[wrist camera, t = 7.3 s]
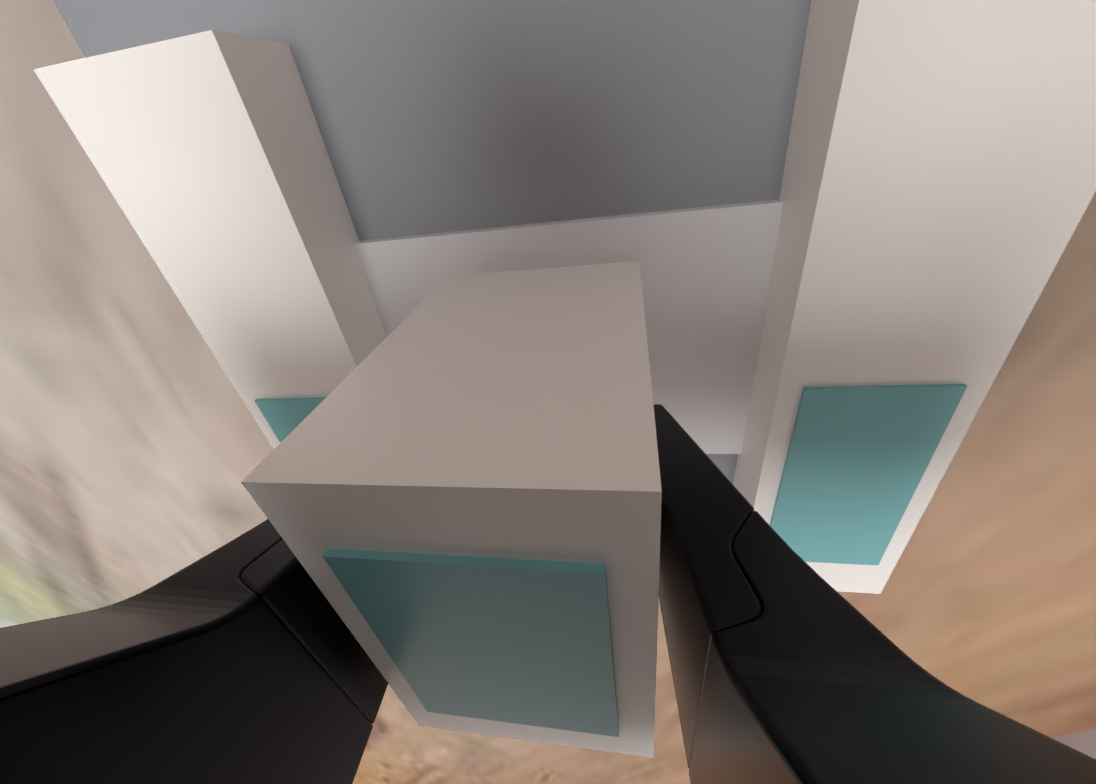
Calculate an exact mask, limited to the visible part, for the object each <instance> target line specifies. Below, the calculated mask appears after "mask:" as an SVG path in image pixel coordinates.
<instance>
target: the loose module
mask: <svg viewBox="0 0 1096 784" xmlns="http://www.w3.org/2000/svg"><path fill="white" fill-rule="evenodd" d="M242 484H243V485H244V486H245V488H246V489H247V490H248V492H249V493H250V495H251V496H252V497H253V499H254V500H255V501H256V503H257V504H258V506H259V507H260V508H261V510H262V511H263V512H264V514H265V515H266V516H267V518H268V519H269V521H270V522H271V523H272V525H273V526H274V527H275V529H276V530H277V532H278V533H279V534H280V536H281V537H282V538H283V540H284V541H285V543H286V544H287V545H288V547H289V548H290V549H291V551H292V552H293V553H294V555H295V556H296V558H297V559H298V560H299V562H300V563H301V564H302V566H303V567H304V569H305V570H306V571H307V573H308V574H309V575H310V577H311V578H312V579H313V581H314V582H315V584H316V585H317V586H318V588H319V589H320V590H321V592H322V593H323V595H324V596H325V597H326V599H327V600H328V601H329V603H330V604H331V605H332V607H333V608H334V610H335V611H336V612H337V614H338V615H339V616H340V618H341V619H342V621H343V622H344V623H345V625H346V626H347V627H348V629H349V630H350V631H351V633H352V634H353V636H354V637H355V638H356V640H357V641H358V642H359V644H360V645H361V647H362V648H363V649H364V651H365V652H366V653H367V655H368V656H369V658H370V659H371V660H372V662H373V663H374V664H375V666H376V667H377V668H378V670H379V671H380V673H381V674H382V675H383V677H384V678H385V679H386V681H387V682H388V684H389V685H390V686H391V688H392V689H393V690H394V692H395V693H396V694H397V696H398V697H399V699H400V700H401V701H402V703H403V704H404V705H405V707H406V708H407V710H408V711H409V712H410V714H411V715H412V716H413V718H414V719H415V720H416V722H417V723H418V725H421V726H428V727H435V728H442V729H449V730H457V731H464V732H471V733H478V734H485V735H492V736H500V737H507V738H514V739H521V740H528V741H535V742H543V743H550V744H557V745H564V746H571V747H579V748H586V749H593V750H600V751H607V752H614V753H622V754H629V755H636V756H643V757H650V758H653V753H654V721H655V689H656V658H657V626H658V595H659V563H660V532H661V500H662V489H661V478H660V468H659V458H658V447H657V437H656V426H655V416H654V405H653V395H652V385H651V374H650V364H649V353H648V343H647V332H646V322H645V312H644V301H643V291H642V280H641V270H640V261H632V262H619V263H606V264H593V265H581V266H568V267H555V268H543V269H530V270H517V271H504V272H492V273H479V274H466V275H454V276H448V277H447V278H446V279H444V280H443V281H442V282H441V283H440V284H439V285H438V286H437V287H436V288H435V289H434V290H433V291H432V292H431V293H430V294H429V295H428V296H427V297H426V298H425V299H424V300H423V301H422V302H421V303H420V304H419V305H418V306H417V307H416V308H415V309H414V310H413V311H412V312H411V313H410V314H409V315H408V316H407V317H406V318H405V319H404V320H403V321H402V322H401V323H400V324H399V325H398V326H397V327H396V328H395V329H394V330H393V331H392V332H391V333H390V334H389V335H388V336H387V337H386V338H385V339H384V340H383V341H382V342H381V343H380V344H379V345H378V346H377V347H376V348H375V349H374V350H373V351H372V352H371V353H370V354H369V355H368V356H367V357H366V358H365V359H364V360H363V361H362V362H361V363H360V364H359V365H358V366H357V367H356V368H355V369H354V370H353V371H352V372H351V373H350V374H349V375H348V376H347V377H346V378H345V379H344V380H343V381H342V382H341V383H340V384H339V385H338V386H337V387H336V388H335V389H334V390H333V391H332V392H331V393H330V394H329V395H328V396H327V397H326V398H325V399H324V400H323V401H322V402H321V403H320V404H319V405H318V406H317V407H316V408H315V409H314V410H313V411H312V412H311V413H310V414H309V415H308V416H307V417H306V418H305V419H304V420H303V421H302V422H301V423H300V424H299V425H298V426H297V427H296V428H295V429H294V430H293V431H292V432H291V433H290V434H289V435H288V436H287V437H286V438H285V439H284V440H283V441H282V442H281V443H280V444H279V445H278V446H277V447H276V448H275V449H274V450H273V451H272V452H271V453H270V454H269V455H268V456H267V457H266V458H265V459H264V460H263V461H262V462H261V463H260V464H259V465H258V466H257V467H256V468H255V469H254V470H253V471H252V472H251V473H250V474H249V475H248V476H247V477H246V478H245V479H244V480H243V481H242Z"/></svg>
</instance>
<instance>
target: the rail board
mask: <svg viewBox="0 0 1096 784" xmlns="http://www.w3.org/2000/svg"><path fill="white" fill-rule="evenodd" d="M53 1H54V3H55V5H56V6H57V8H58V10H59V12H60V13H61V15H62V17H63V19H64V20H65V22H66V24H67V26H68V27H69V29H70V31H71V33H72V34H73V36H74V38H75V40H76V41H77V43H78V45H79V47H80V48H81V50H82V52H83V54H84V55H85V57H86V58H82V59H78V60H73V61H69V62H64V63H59V64H55V65H50V66H46V67H41V68H37V69H33V70H34V71H35V73H36V74H37V76H38V77H39V79H40V81H41V82H42V84H43V85H44V87H45V89H46V90H47V92H48V93H49V95H50V96H51V98H52V100H53V101H54V103H55V104H56V106H57V108H58V109H59V111H60V112H61V114H62V115H63V117H64V119H65V120H66V122H67V123H68V125H69V127H70V128H71V130H72V131H73V133H74V134H75V136H76V138H77V139H78V141H79V142H80V144H81V145H82V147H83V149H84V150H85V152H86V153H87V155H88V157H89V158H90V160H91V161H92V163H93V164H94V166H95V168H96V169H97V171H98V172H99V174H100V176H101V177H102V179H103V180H104V182H105V183H106V185H107V187H108V188H109V190H110V191H111V193H112V195H113V196H114V198H115V199H116V201H117V202H118V204H119V206H120V207H121V209H122V210H123V212H124V214H125V215H126V217H127V218H128V220H129V221H130V223H131V225H132V226H133V228H134V229H135V231H136V232H137V234H138V236H139V237H140V239H141V240H142V242H143V244H144V245H145V247H146V248H147V250H148V251H149V253H150V255H151V256H152V258H153V259H154V261H155V263H156V264H157V266H158V267H159V269H160V270H161V272H162V274H163V275H164V277H165V278H166V280H167V282H168V283H169V285H170V286H171V288H172V289H173V291H174V293H175V294H176V296H177V297H178V299H179V301H180V302H181V304H182V305H183V307H184V308H185V310H186V312H187V313H188V315H189V316H190V318H191V319H192V321H193V323H194V324H195V326H196V327H197V329H198V331H199V332H200V334H201V335H202V337H203V338H204V340H205V342H206V343H207V345H208V346H209V348H210V350H211V351H212V353H213V354H214V356H215V357H216V359H217V361H218V362H219V364H220V365H221V367H222V369H223V370H224V372H225V373H226V375H227V376H228V378H229V380H230V381H231V383H232V384H233V386H234V388H235V389H236V391H237V392H238V394H239V395H240V397H241V399H242V400H243V402H244V403H245V405H246V406H247V408H248V410H249V411H250V413H251V414H252V416H253V418H254V419H255V421H256V422H257V424H258V425H259V427H260V429H261V430H262V432H263V433H264V435H265V437H266V438H267V440H268V441H269V443H270V444H271V446H272V448H273V449H275V448H276V447H277V446H278V445H279V444H280V443H281V442H282V441H283V440H284V439H285V438H286V437H287V436H288V435H289V434H290V433H291V432H292V431H293V430H294V429H295V428H296V427H297V426H298V425H299V424H300V423H301V422H302V421H303V420H304V419H305V418H306V417H307V416H308V415H309V414H310V413H311V412H312V411H313V410H314V409H315V408H316V407H317V406H318V405H319V404H320V403H321V402H322V401H323V400H324V399H325V398H326V397H327V396H328V395H329V394H330V393H331V392H332V391H333V390H334V389H335V388H336V387H337V386H338V385H339V384H340V383H341V382H342V381H343V380H344V379H345V378H346V377H347V376H348V375H349V374H350V373H351V372H352V371H353V370H354V369H355V368H356V367H357V366H358V365H359V364H360V363H361V362H362V361H363V360H364V359H365V358H366V357H367V356H368V355H369V354H370V353H371V352H372V351H373V350H374V349H375V348H376V347H377V346H378V345H379V344H380V343H381V342H382V341H383V340H384V339H385V338H386V337H387V336H388V335H389V334H390V333H391V332H392V331H393V330H394V329H395V328H396V327H397V326H398V325H399V324H400V323H401V322H402V321H403V320H404V319H405V318H406V317H407V316H408V315H409V314H410V313H411V312H412V311H413V310H414V309H415V308H416V307H417V306H418V305H419V304H420V303H421V302H422V301H423V300H424V299H425V298H426V297H427V296H428V295H429V294H430V293H431V292H432V291H433V290H434V289H435V288H436V287H437V286H438V285H439V284H440V283H441V282H442V281H443V280H444V279H446V278H447V277H448V276H454V275H466V274H479V273H492V272H504V271H517V270H530V269H543V268H555V267H568V266H581V265H593V264H606V263H619V262H632V261H640V270H641V280H642V291H643V301H644V312H645V322H646V332H647V343H648V353H649V364H650V374H651V385H652V395H653V404H661V405H663V406H664V407H665V409H666V410H667V411H668V412H669V413H670V414H671V415H672V416H673V418H674V419H675V420H676V421H677V422H678V423H679V424H680V425H681V427H682V428H683V429H684V430H685V431H686V432H687V433H688V434H689V436H690V437H691V438H692V439H693V440H694V441H695V442H696V443H697V445H698V446H699V447H700V448H701V449H702V450H703V451H704V452H705V454H706V455H707V456H708V457H709V458H710V459H711V460H712V461H713V463H714V464H715V465H716V466H717V467H718V468H719V469H720V470H721V472H722V473H723V474H724V475H725V476H726V477H727V478H728V479H729V481H730V482H731V483H732V484H733V485H734V486H735V487H736V488H737V490H738V491H739V492H740V493H741V494H742V495H743V496H744V497H745V498H746V500H747V501H748V502H749V503H750V504H751V505H752V506H753V507H754V511H757V512H758V513H759V514H760V515H761V516H762V517H763V519H764V520H765V521H766V522H767V523H768V524H769V525H770V526H771V527H772V529H773V530H774V531H775V532H776V533H777V534H778V535H779V536H780V537H781V538H782V539H783V540H784V541H785V542H786V543H787V544H788V545H789V547H790V548H791V549H792V550H793V551H794V552H795V553H796V554H797V555H799V556H800V557H801V558H802V559H803V560H804V561H805V562H806V563H807V564H808V565H809V566H810V567H811V568H812V569H813V570H814V571H815V572H816V573H817V574H818V575H819V576H820V577H822V578H823V579H824V580H825V581H826V582H827V583H828V584H829V585H830V586H831V587H832V588H834V589H835V590H836V591H843V592H859V593H876V594H880V593H881V592H882V590H883V588H884V586H885V584H886V582H887V580H888V578H889V577H890V575H891V573H892V571H893V569H894V567H895V565H896V564H897V562H898V560H899V558H900V556H901V554H902V552H903V550H904V549H905V547H906V545H907V543H908V541H909V539H910V537H911V536H912V534H913V532H914V530H915V528H916V526H917V524H918V522H919V521H920V519H921V517H922V515H923V513H924V511H925V509H926V508H927V506H928V504H929V502H930V500H931V498H932V496H933V494H934V493H935V491H936V489H937V487H938V485H939V483H940V481H941V479H942V478H943V476H944V474H945V472H946V470H947V468H948V466H949V465H950V463H951V461H952V459H953V457H954V455H955V453H956V451H957V450H958V448H959V446H960V444H961V442H962V440H963V438H964V437H965V435H966V433H967V431H968V429H969V427H970V425H971V423H972V422H973V420H974V418H975V416H976V414H977V412H978V410H979V409H980V407H981V405H982V403H983V401H984V399H985V397H986V395H987V394H988V392H989V390H990V388H991V386H992V384H993V382H994V380H995V379H996V377H997V375H998V373H999V371H1000V369H1001V367H1002V366H1003V364H1004V362H1005V360H1006V358H1007V356H1008V354H1009V352H1010V351H1011V349H1012V347H1013V345H1014V343H1015V341H1016V339H1017V338H1018V336H1019V334H1020V332H1021V330H1022V328H1023V326H1024V324H1025V323H1026V321H1027V319H1028V317H1029V315H1030V313H1031V311H1032V310H1033V308H1034V306H1035V304H1036V302H1037V300H1038V298H1039V296H1040V295H1041V293H1042V291H1043V289H1044V287H1045V285H1046V283H1047V281H1048V280H1049V278H1050V276H1051V274H1052V272H1053V270H1054V268H1055V267H1056V265H1057V263H1058V261H1059V259H1060V257H1061V255H1062V253H1063V252H1064V250H1065V248H1066V246H1067V244H1068V242H1069V240H1070V239H1071V237H1072V235H1073V233H1074V231H1075V229H1076V227H1077V225H1078V224H1079V222H1080V220H1081V218H1082V216H1083V214H1084V212H1085V211H1086V209H1087V207H1088V205H1089V203H1090V201H1091V199H1092V197H1093V196H1094V194H1095V192H1096V0H53Z"/></svg>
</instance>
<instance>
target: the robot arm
mask: <svg viewBox="0 0 1096 784" xmlns="http://www.w3.org/2000/svg"><path fill="white" fill-rule="evenodd" d="M653 405H654V416H655V426H656V437H657V447H658V458H659V468H660V478H661V489H662V500H661V532H660V563H659V600H660V606H661V612H662V618H663V624H664V629H665V635H666V641H667V647H668V653H669V659H670V664H671V670H672V676H673V682H674V688H675V693H676V699H677V705H678V711H679V717H680V723H681V728H682V734H683V740H684V746H685V752H686V757H687V763H688V767H689V775H690V781H691V784H1096V759H1094V758H1092V757H1090V756H1088V755H1086V754H1084V753H1082V752H1080V751H1077V750H1075V749H1073V748H1071V747H1069V746H1067V745H1065V744H1063V743H1061V742H1059V741H1057V740H1054V739H1053V738H1050V737H1048V736H1046V735H1044V734H1042V733H1040V732H1038V731H1036V730H1034V729H1032V728H1030V727H1028V726H1025V725H1023V724H1021V723H1019V722H1017V721H1015V720H1013V719H1011V718H1009V717H1007V716H1005V715H1003V714H1000V713H998V712H996V711H994V710H992V709H990V708H988V707H986V706H984V705H982V704H980V703H978V702H976V701H974V700H972V699H970V698H968V697H966V696H964V695H962V694H961V693H959V692H957V691H955V690H954V689H952V688H950V687H949V686H947V685H946V684H944V683H943V682H941V681H940V680H938V679H937V678H936V677H934V676H933V675H931V674H930V673H928V672H927V671H926V670H925V669H923V668H922V667H921V666H919V665H918V664H917V663H916V662H914V661H913V660H912V659H911V658H910V657H908V656H907V655H906V654H905V653H904V652H903V651H901V650H900V649H899V648H898V647H897V646H896V645H895V644H894V643H893V642H891V641H890V640H889V639H888V638H887V637H886V636H885V635H884V634H883V633H882V632H881V631H879V630H878V629H877V628H876V627H875V626H874V625H873V624H872V623H871V622H870V621H869V620H867V619H866V618H865V617H864V616H863V615H862V614H861V613H860V612H859V611H858V610H856V609H855V608H854V607H853V606H852V605H851V604H850V603H849V602H848V601H847V600H846V599H844V598H843V597H842V596H841V595H840V594H839V593H838V592H837V591H836V590H835V589H834V588H832V587H831V586H830V585H829V584H828V583H827V582H826V581H825V580H824V579H823V578H822V577H820V576H819V575H818V574H817V573H816V572H815V571H814V570H813V569H812V568H811V567H810V566H809V565H808V564H807V563H806V562H805V561H804V560H803V559H802V558H801V557H800V556H799V555H797V554H796V553H795V552H794V551H793V550H792V549H791V548H790V547H789V545H788V544H787V543H786V542H785V541H784V540H783V539H782V538H781V537H780V536H779V535H778V534H777V533H776V532H775V531H774V530H773V529H772V527H771V526H770V525H769V524H768V523H767V522H766V521H765V520H764V519H763V517H762V516H761V515H760V514H759V513H758V512H757V511H754V507H753V506H752V505H751V504H750V503H749V502H748V501H747V500H746V498H745V497H744V496H743V495H742V494H741V493H740V492H739V491H738V490H737V488H736V487H735V486H734V485H733V484H732V483H731V482H730V481H729V479H728V478H727V477H726V476H725V475H724V474H723V473H722V472H721V470H720V469H719V468H718V467H717V466H716V465H715V464H714V463H713V461H712V460H711V459H710V458H709V457H708V456H707V455H706V454H705V452H704V451H703V450H702V449H701V448H700V447H699V446H698V445H697V443H696V442H695V441H694V440H693V439H692V438H691V437H690V436H689V434H688V433H687V432H686V431H685V430H684V429H683V428H682V427H681V425H680V424H679V423H678V422H677V421H676V420H675V419H674V418H673V416H672V415H671V414H670V413H669V412H668V411H667V410H666V409H665V407H664V406H663V405H661V404H653ZM387 685H388V682H387V681H386V679H385V678H384V677H383V675H382V674H381V673H380V671H379V670H378V668H377V667H376V666H375V664H374V663H373V662H372V660H371V659H370V658H369V656H368V655H367V653H366V652H365V651H364V649H363V648H362V647H361V645H360V644H359V642H358V641H357V640H356V638H355V637H354V636H353V634H352V633H351V631H350V630H349V629H348V627H347V626H346V625H345V623H344V622H343V621H342V619H341V618H340V616H339V615H338V614H337V612H336V611H335V610H334V608H333V607H332V605H331V604H330V603H329V601H328V600H327V599H326V597H325V596H324V595H323V593H322V592H321V590H320V589H319V588H318V586H317V585H316V584H315V582H314V581H313V579H312V578H311V577H310V575H309V574H308V573H307V571H306V570H305V569H304V567H303V566H302V564H301V563H300V562H299V560H298V559H297V558H296V556H295V555H294V553H293V552H292V551H291V549H290V548H289V547H288V545H287V544H286V543H285V541H284V540H283V538H282V537H281V536H280V534H279V533H278V532H277V530H276V529H275V527H274V526H273V525H272V523H271V522H270V521H269V519H267V520H266V521H264V522H262V523H261V524H259V525H258V526H256V527H254V528H252V529H251V530H249V531H247V532H246V533H244V534H242V535H241V536H239V537H237V538H236V539H234V540H232V541H230V542H229V543H227V544H225V545H224V546H222V547H220V548H218V549H217V550H215V551H213V552H212V553H210V554H208V555H206V556H205V557H203V558H201V559H199V560H198V561H196V562H194V563H192V564H191V565H189V566H187V567H186V568H184V569H182V570H180V571H179V572H177V573H175V574H173V575H172V576H170V577H168V578H166V579H165V580H163V581H161V582H160V583H158V584H156V585H154V586H153V587H151V588H149V589H147V590H145V591H143V592H141V593H139V594H137V595H135V596H133V597H130V598H128V599H126V600H123V601H120V602H118V603H115V604H112V605H109V606H106V607H102V608H99V609H95V610H91V611H87V612H82V613H77V614H71V615H66V616H61V617H56V618H51V619H45V620H40V621H35V622H30V623H25V624H19V625H14V626H9V627H4V628H0V784H352V783H353V780H354V777H355V775H356V772H357V769H358V766H359V764H360V761H361V758H362V755H363V752H364V750H365V747H366V744H367V741H368V739H369V736H370V733H371V730H372V728H373V725H372V724H373V723H374V721H375V718H376V716H377V713H378V710H379V707H380V705H381V702H382V699H383V696H384V693H385V691H386V688H387Z"/></svg>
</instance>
